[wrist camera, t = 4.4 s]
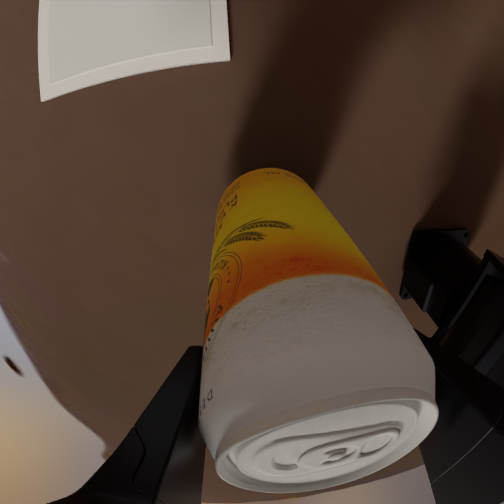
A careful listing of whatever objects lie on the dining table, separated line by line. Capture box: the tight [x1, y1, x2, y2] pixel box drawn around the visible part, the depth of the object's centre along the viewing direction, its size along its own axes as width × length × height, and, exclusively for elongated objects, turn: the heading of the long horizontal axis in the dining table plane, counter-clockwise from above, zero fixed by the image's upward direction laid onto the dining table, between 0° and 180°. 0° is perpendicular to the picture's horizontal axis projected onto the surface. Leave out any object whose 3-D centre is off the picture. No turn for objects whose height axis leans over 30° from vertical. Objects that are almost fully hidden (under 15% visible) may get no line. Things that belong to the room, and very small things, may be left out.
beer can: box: [198, 168, 439, 493], centre depth 12 cm, size 6×6×15 cm
